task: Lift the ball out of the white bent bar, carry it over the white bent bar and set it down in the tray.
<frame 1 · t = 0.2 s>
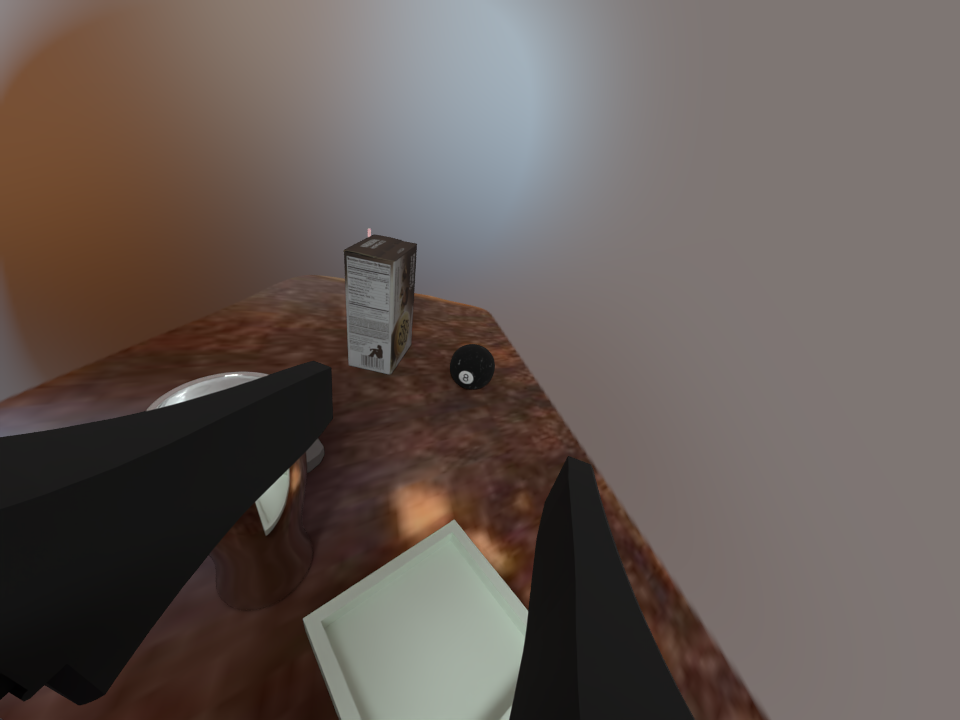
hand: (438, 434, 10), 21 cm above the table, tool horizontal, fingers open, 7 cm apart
tray: (434, 651, 23), on the table
beer glass: (267, 566, 26), on the table
remote control: (172, 500, 30), on the table
billiard ball: (469, 385, 50), on the table
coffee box: (381, 356, 53), on the table
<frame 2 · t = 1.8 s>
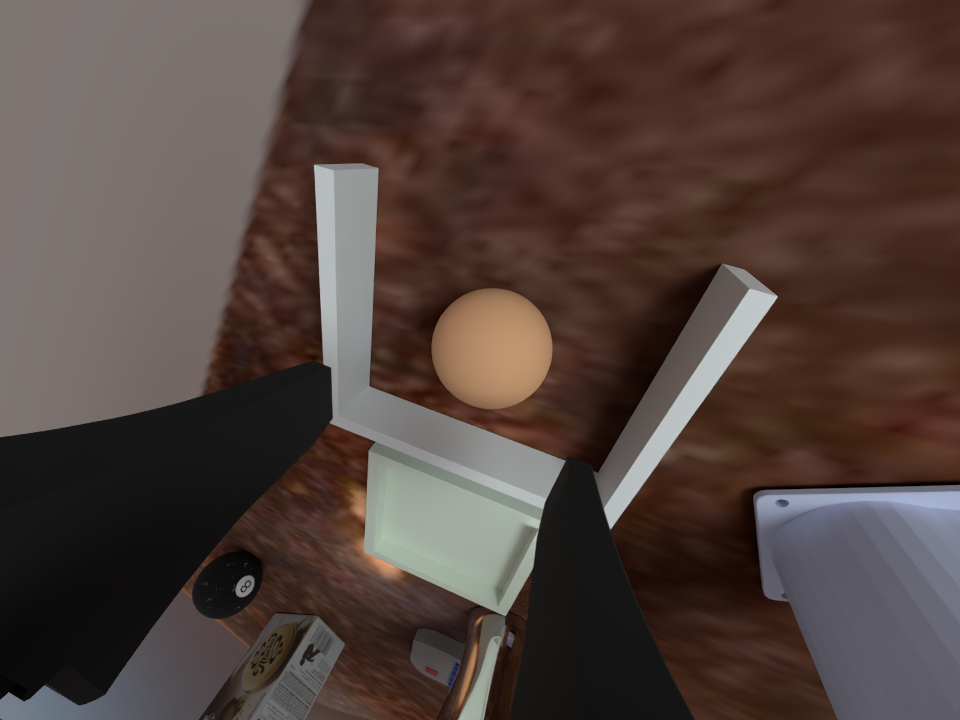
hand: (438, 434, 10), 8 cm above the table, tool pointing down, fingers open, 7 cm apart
tray: (452, 520, 26), on the table
beer glass: (502, 624, 31), on the table
remote control: (521, 679, 36), on the table
billiard ball: (253, 556, 41), on the table
ball: (505, 325, 17), on the table
white bent bar: (476, 432, 21), on the table
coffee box: (311, 625, 46), on the table
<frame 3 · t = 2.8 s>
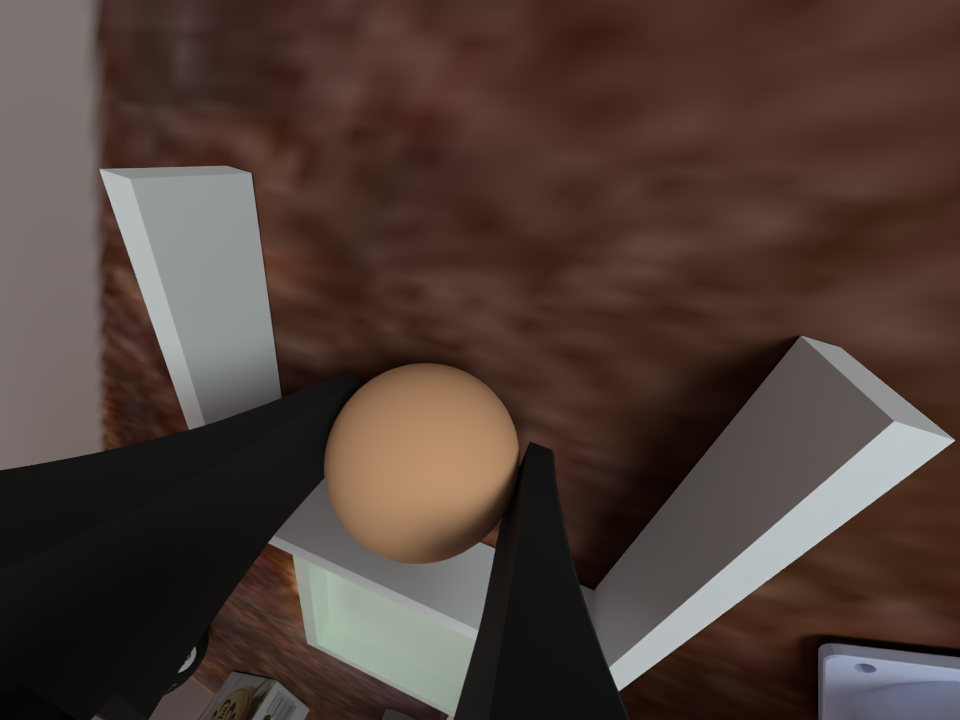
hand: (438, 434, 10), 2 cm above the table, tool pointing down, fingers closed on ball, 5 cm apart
tray: (411, 615, 20), on the table
beer glass: (480, 719, 26), on the table
billiard ball: (199, 616, 35), on the table
ball: (457, 402, 12), on the table, touching gripper
white bent bar: (430, 527, 15), on the table
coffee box: (272, 686, 41), on the table
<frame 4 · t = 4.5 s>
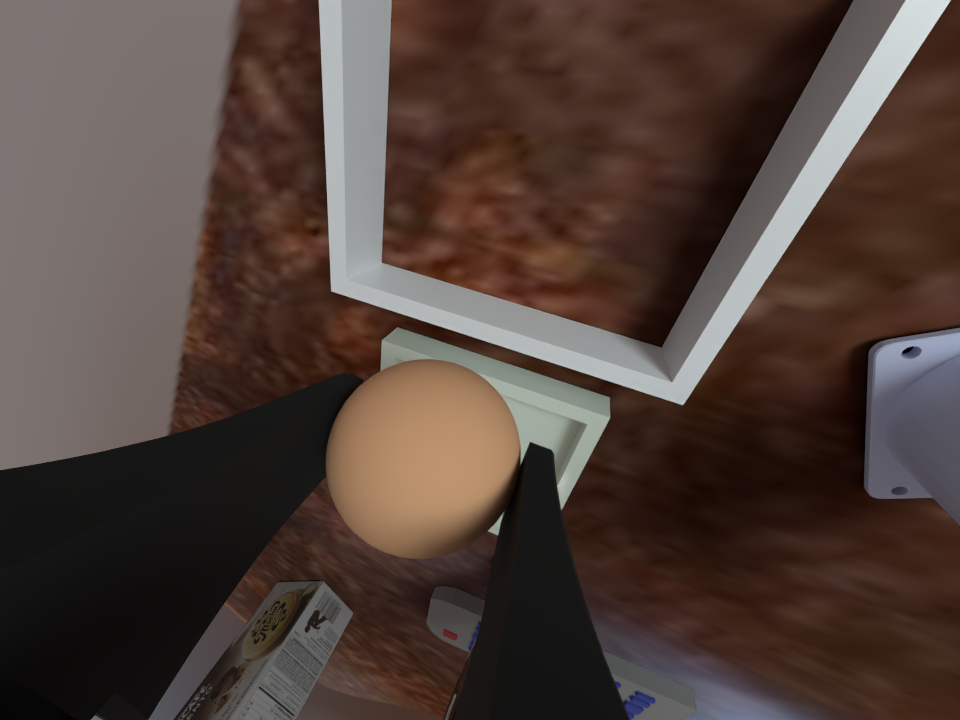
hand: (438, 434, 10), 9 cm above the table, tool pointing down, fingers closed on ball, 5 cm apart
tray: (477, 439, 22), on the table
beer glass: (531, 571, 28), on the table
remote control: (550, 642, 33), on the table
ball: (457, 398, 12), point 7 cm above the table, touching gripper
white bent bar: (510, 309, 17), on the table
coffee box: (317, 594, 43), on the table
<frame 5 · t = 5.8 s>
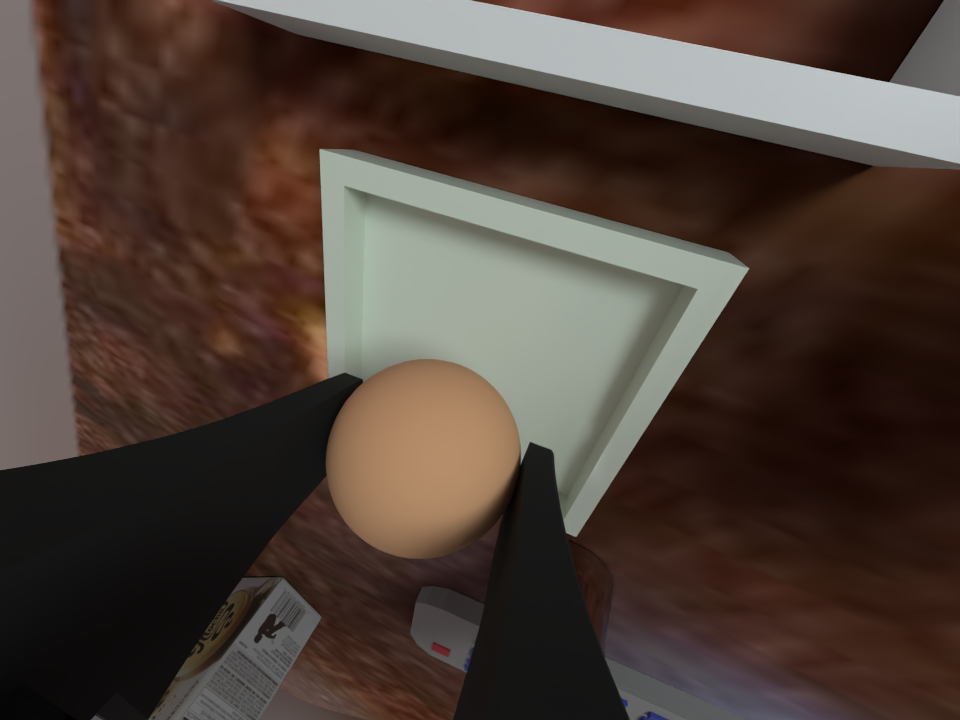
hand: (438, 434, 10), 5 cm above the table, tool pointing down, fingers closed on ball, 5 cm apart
tray: (485, 357, 14), on the table
beer glass: (554, 567, 20), on the table
remote control: (573, 661, 25), on the table
ball: (457, 398, 12), point 3 cm above the table, touching gripper
white bent bar: (556, 73, 9), on the table
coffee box: (277, 593, 35), on the table
when the fingers open (4 cm above the table, at t = 6.5 s): ball drops 2 cm, resting on tray.
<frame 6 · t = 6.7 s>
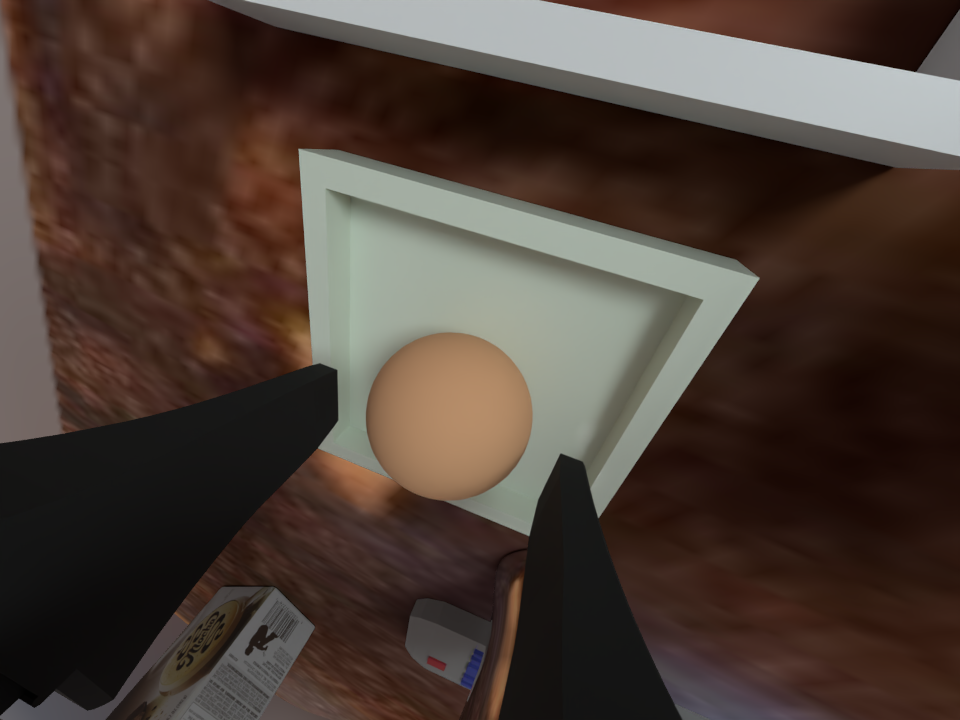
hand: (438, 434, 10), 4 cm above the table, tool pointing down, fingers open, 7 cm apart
tray: (478, 367, 13), on the table
beer glass: (552, 582, 19), on the table
remote control: (572, 675, 24), on the table
ball: (473, 371, 13), resting on tray
white bent bar: (551, 67, 9), on the table
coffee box: (270, 603, 34), on the table
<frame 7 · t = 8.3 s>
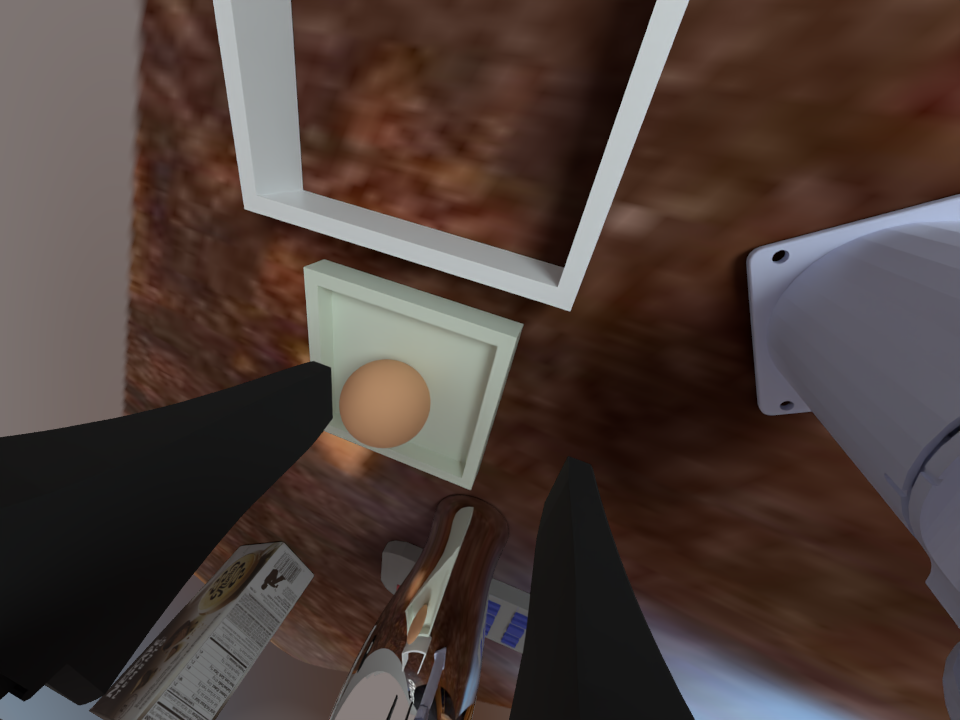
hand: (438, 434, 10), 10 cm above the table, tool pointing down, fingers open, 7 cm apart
tray: (409, 376, 23), on the table
beer glass: (473, 519, 28), on the table
remote control: (500, 597, 34), on the table
ball: (405, 379, 22), point 1 cm above the table, touching tray
white bent bar: (425, 234, 18), on the table
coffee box: (279, 558, 43), on the table
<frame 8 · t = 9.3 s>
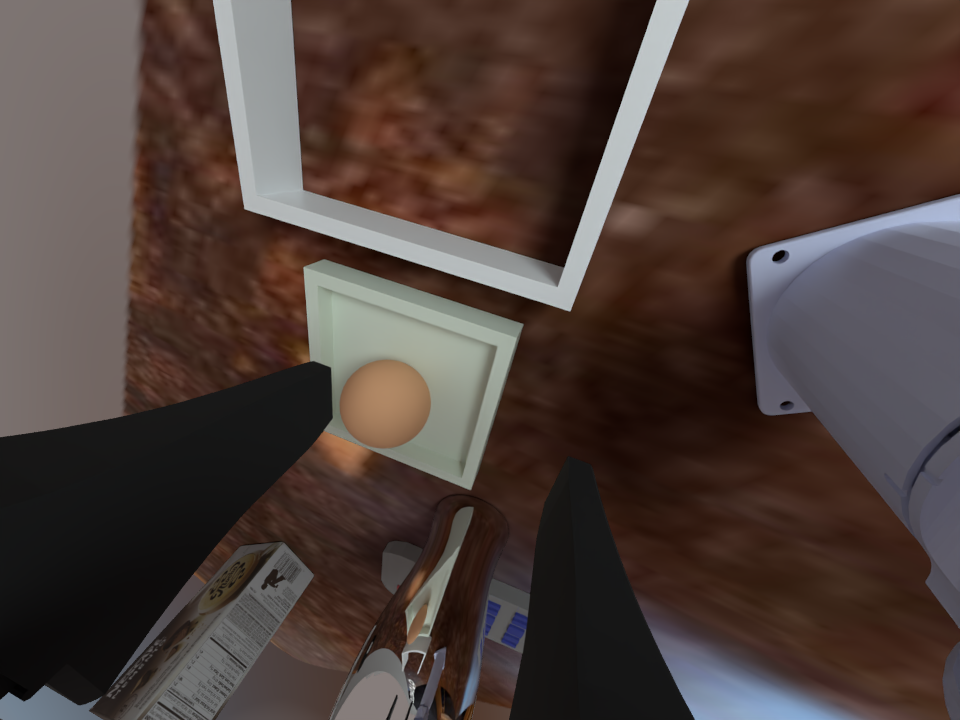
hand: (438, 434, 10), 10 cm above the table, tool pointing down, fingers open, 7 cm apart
tray: (409, 376, 23), on the table
beer glass: (473, 519, 28), on the table
remote control: (501, 597, 34), on the table
ball: (405, 379, 22), point 1 cm above the table, touching tray
white bent bar: (425, 234, 18), on the table
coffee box: (279, 558, 43), on the table
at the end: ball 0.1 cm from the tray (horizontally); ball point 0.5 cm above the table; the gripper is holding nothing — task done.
